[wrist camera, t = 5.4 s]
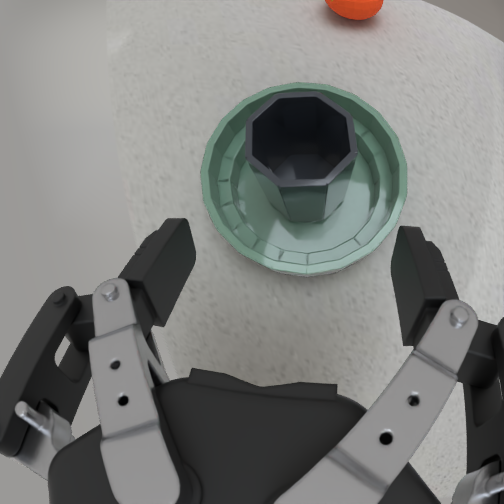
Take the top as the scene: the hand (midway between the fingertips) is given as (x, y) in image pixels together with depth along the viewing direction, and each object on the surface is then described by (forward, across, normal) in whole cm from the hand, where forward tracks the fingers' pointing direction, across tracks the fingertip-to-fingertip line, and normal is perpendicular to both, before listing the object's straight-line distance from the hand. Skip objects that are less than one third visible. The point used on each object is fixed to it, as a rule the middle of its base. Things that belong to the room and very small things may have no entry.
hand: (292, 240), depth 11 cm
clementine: (+30, +6, +12) cm, 32 cm away
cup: (+13, 0, -4) cm, 13 cm away
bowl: (+13, 0, -4) cm, 14 cm away
